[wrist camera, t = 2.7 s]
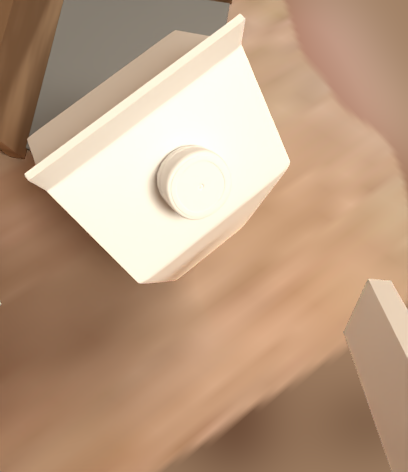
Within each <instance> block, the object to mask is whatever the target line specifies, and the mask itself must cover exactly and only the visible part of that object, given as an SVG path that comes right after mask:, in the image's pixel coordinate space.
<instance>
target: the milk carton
mask: <svg viewBox="0 0 408 472" xmlns="http://www.w3.org/2000/svg"><path fill="white" fill-rule="evenodd" d="M244 23H245V18H244V17H243V16H242V15H241V14H239V15H238V16H236V17H235V18H234V19H232V20H231V21H230V22H228V23H227V24H226V25H224V26H223V27H222V28H220V29H219V30H217V31H216V32H215V33H213V34H212V35H211V36H206V35H201V34H195V33H189V32H183V31H178V30H175V31H173V32H171V33H170V34H169V35H167V36H166V37H164V38H163V39H162V40H160V41H159V42H157V43H156V44H155V45H153V46H152V47H151V48H149V49H148V50H146V51H145V52H144V53H142V54H141V55H140V56H138V57H137V58H136V59H134V60H133V61H131V62H130V63H129V64H127V65H126V66H125V67H123V68H122V69H121V70H119V71H118V72H116V73H115V74H114V75H112V76H111V77H110V78H108V79H107V80H106V81H104V82H103V83H101V84H100V85H99V86H97V87H96V88H95V89H93V90H92V91H90V92H89V93H88V94H86V95H85V96H84V97H82V98H81V99H80V100H78V101H77V102H75V103H74V104H73V105H71V106H70V107H69V108H67V109H66V110H65V111H63V112H62V113H60V114H59V115H58V116H56V117H55V118H54V119H52V120H51V121H50V122H48V123H47V124H45V125H44V126H43V127H41V128H40V129H39V130H37V131H36V132H35V133H33V134H32V135H31V136H30V137H28V138H27V141H28V144H29V147H30V150H31V153H32V155H33V158H34V161H35V164H36V166H34V167H33V168H31V169H30V170H29V171H27V172H26V173H25V177H26V178H27V180H28V181H30V182H31V183H33V184H35V185H37V186H39V187H40V188H42V189H44V190H46V191H47V192H48V193H49V194H50V195H51V196H52V197H53V198H54V199H55V200H56V201H57V202H58V203H59V204H60V205H61V206H62V207H63V208H64V209H65V210H66V211H67V212H68V213H69V214H70V215H71V216H72V217H73V218H74V219H75V220H76V221H77V222H78V223H79V224H80V225H81V226H82V227H83V228H84V229H85V230H86V231H87V232H88V233H89V234H90V235H91V236H92V237H93V238H94V239H95V240H96V241H97V242H98V243H99V244H100V245H101V246H102V247H103V248H104V249H105V250H106V251H107V252H108V253H109V254H110V255H111V256H112V257H113V258H114V259H115V260H116V261H117V262H118V263H119V264H120V265H121V266H122V267H123V268H124V269H125V270H126V271H127V272H128V273H129V274H130V275H131V276H132V277H133V278H134V279H135V280H136V281H137V282H138V283H141V284H144V283H157V282H168V281H176V280H178V279H179V278H180V277H182V276H183V275H184V274H185V273H187V272H188V271H189V270H190V269H191V268H193V267H194V266H195V265H196V264H198V263H199V262H200V261H201V260H203V259H204V258H205V257H206V256H208V255H209V254H210V253H211V252H213V251H214V250H215V249H216V248H218V247H219V246H220V245H221V244H223V243H224V242H225V241H226V240H227V239H229V238H230V237H231V236H232V235H234V234H235V233H236V232H237V231H239V230H240V229H241V228H242V227H243V226H244V225H245V223H246V222H247V221H248V220H249V218H250V217H251V216H252V214H253V213H254V212H255V210H256V209H257V208H258V207H259V205H260V204H261V203H262V201H263V200H264V199H265V197H266V196H267V195H268V194H269V192H270V191H271V190H272V188H273V187H274V186H275V184H276V183H277V182H278V181H279V179H280V178H281V177H282V175H283V174H284V173H285V171H286V170H287V168H288V166H289V164H290V161H289V158H288V155H287V153H286V151H285V148H284V146H283V143H282V141H281V139H280V136H279V134H278V131H277V129H276V127H275V124H274V122H273V119H272V117H271V115H270V112H269V110H268V107H267V105H266V103H265V100H264V98H263V95H262V93H261V91H260V88H259V86H258V83H257V81H256V79H255V76H254V74H253V71H252V69H251V66H250V64H249V62H248V59H247V57H246V54H245V52H244V50H243V47H242V45H241V42H242V36H243V30H244Z"/></svg>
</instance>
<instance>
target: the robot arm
mask: <svg viewBox="0 0 408 472" xmlns="http://www.w3.org/2000/svg"><path fill="white" fill-rule="evenodd" d="M0 305H1V302H0ZM343 333H344V335H345V338H346V341H347V344H348V347H349V350H350V353H351V355H352V358H353V361H354V364H355V367H356V370H357V373H358V376H359V379H360V381H361V385H362V387H363V390H364V393H365V396H366V399H367V402H368V405H369V408H370V411H371V413H372V416H373V419H374V422H375V425H376V428H377V431H378V434H379V437H380V439H381V443H382V445H383V448H384V451H385V454H386V457H387V460H388V463H389V466H390V469H391V471H392V472H408V310H407V308H406V306H405V304H404V303H403V301H402V299H401V297H400V296H399V294H398V292H397V290H396V289H395V287H394V285H393V283H392V282H391V281H390V280H378V279H368V280H367V282H366V284H365V286H364V288H363V291H362V293H361V295H360V297H359V299H358V301H357V304H356V306H355V308H354V310H353V312H352V314H351V317H350V319H349V321H348V323H347V325H346V327H345V330H344V332H343Z"/></svg>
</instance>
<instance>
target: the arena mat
mask: <svg viewBox="0 0 408 472" xmlns="http://www.w3.org/2000/svg"><path fill="white" fill-rule="evenodd" d="M229 5H230V3H224V2H217V1H211V0H64V1H63V5H62V9H61V13H60V16H59V20H58V24H57V28H56V32H55V36H54V40H53V44H52V48H51V52H50V55H49V59H48V63H47V67H46V71H45V75H44V79H43V83H42V87H41V91H40V95H39V98H38V102H37V106H36V110H35V114H34V118H33V122H32V126H31V130H30V134H29V137H30V136H31V135H32V134H33V133H35V132H36V131H37V130H39V129H40V128H41V127H43V126H44V125H45V124H47V123H48V122H50V121H51V120H52V119H54V118H55V117H56V116H58V115H59V114H60V113H62V112H63V111H65V110H66V109H67V108H69V107H70V106H71V105H73V104H74V103H75V102H77V101H78V100H80V99H81V98H82V97H84V96H85V95H86V94H88V93H89V92H90V91H92V90H93V89H95V88H96V87H97V86H99V85H100V84H101V83H103V82H104V81H106V80H107V79H108V78H110V77H111V76H112V75H114V74H115V73H116V72H118V71H119V70H121V69H122V68H123V67H125V66H126V65H127V64H129V63H130V62H131V61H133V60H134V59H136V58H137V57H138V56H140V55H141V54H142V53H144V52H145V51H146V50H148V49H149V48H151V47H152V46H153V45H155V44H156V43H157V42H159V41H160V40H162V39H163V38H164V37H166V36H167V35H169V34H170V33H171V32H173V31H175V30H178V31H183V32H189V33H195V34H201V35H206V36H211V35H212V34H213V33H215V32H216V31H217V30H219V29H220V28H222V27H223V26H224V25H226V23H227V17H228V11H229ZM26 149H27V150H30V147H29V144H28V141H27V145H26Z"/></svg>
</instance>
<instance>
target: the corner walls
mask: <svg viewBox="0 0 408 472" xmlns="http://www.w3.org/2000/svg"><path fill="white" fill-rule="evenodd" d="M63 1H64V0H0V150H1V151H3V152H4V153H6V154H7V155H9V156H10V157H15V158H21V159H25V155H26V151H27V149H26V145H27V138H28V137H29V134H30V130H31V126H32V122H33V118H34V114H35V110H36V106H37V102H38V98H39V95H40V91H41V87H42V83H43V79H44V75H45V71H46V67H47V63H48V59H49V55H50V52H51V48H52V44H53V40H54V36H55V32H56V28H57V24H58V20H59V16H60V13H61V9H62V5H63ZM211 1H217V2H224V3H230V4H231V3H232V0H211Z"/></svg>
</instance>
